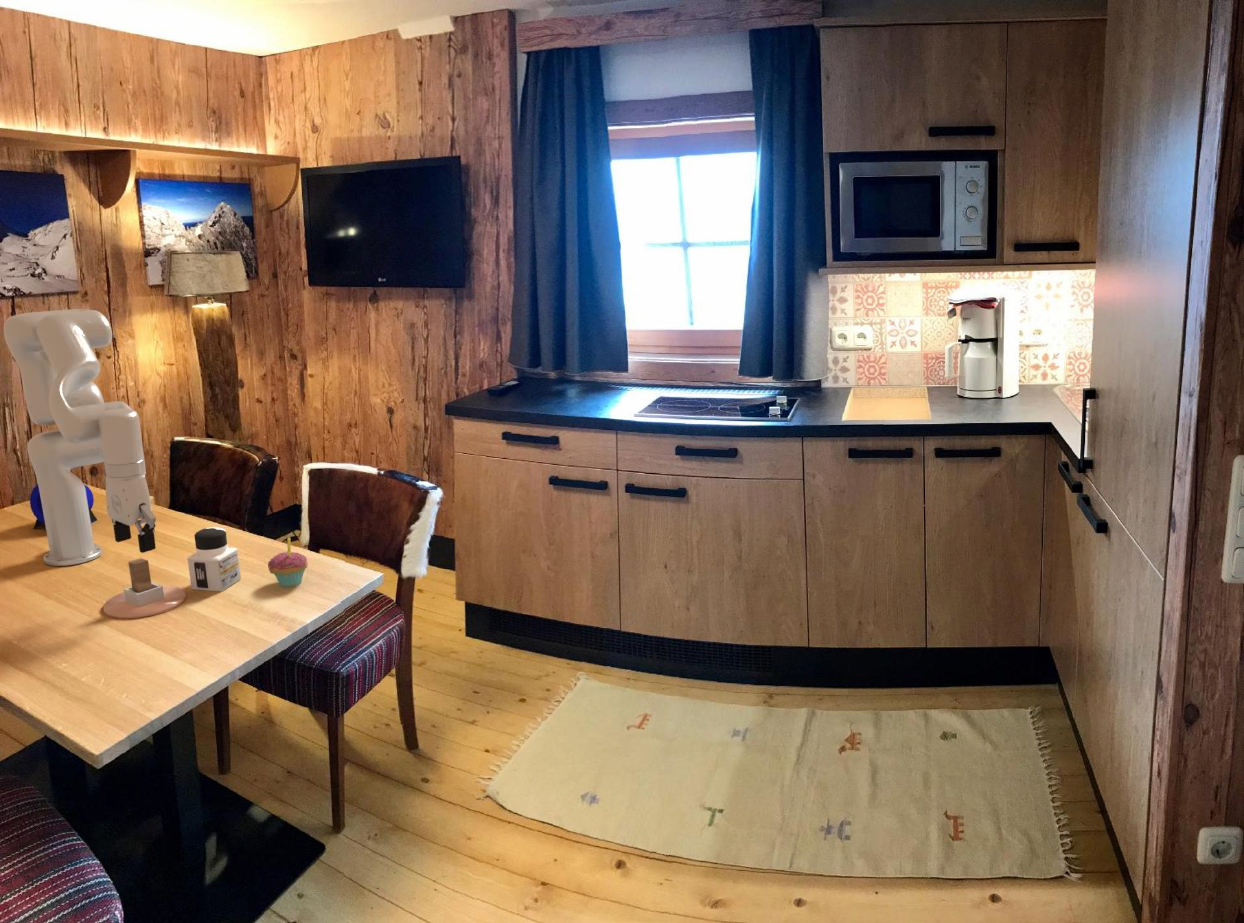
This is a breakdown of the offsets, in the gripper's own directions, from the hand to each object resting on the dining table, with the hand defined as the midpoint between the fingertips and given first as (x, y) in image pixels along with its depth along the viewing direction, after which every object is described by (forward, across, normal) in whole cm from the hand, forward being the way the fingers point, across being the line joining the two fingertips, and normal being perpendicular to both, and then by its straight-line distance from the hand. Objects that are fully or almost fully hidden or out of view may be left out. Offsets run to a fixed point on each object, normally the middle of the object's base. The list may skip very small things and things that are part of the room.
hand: (135, 545), depth 210 cm
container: (+13, +4, +15) cm, 20 cm away
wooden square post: (+12, +1, 0) cm, 12 cm away
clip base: (+13, +1, 0) cm, 13 cm away
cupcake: (+13, +17, +25) cm, 33 cm away
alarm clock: (+16, -69, +17) cm, 73 cm away
